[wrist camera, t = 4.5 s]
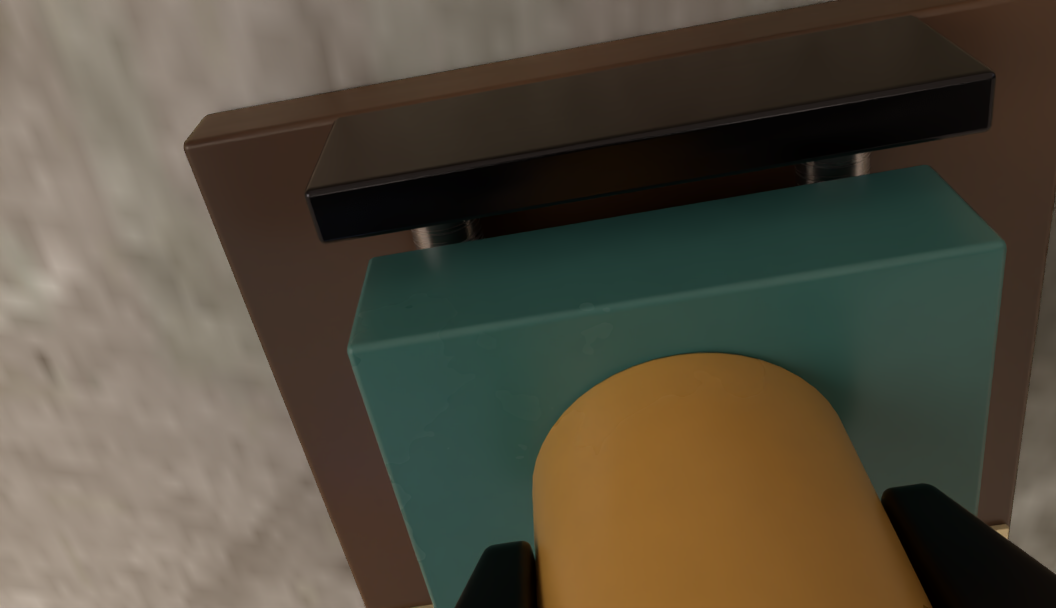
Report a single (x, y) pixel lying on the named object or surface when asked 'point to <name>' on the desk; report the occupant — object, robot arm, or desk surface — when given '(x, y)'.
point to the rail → (620, 187)
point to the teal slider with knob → (690, 393)
